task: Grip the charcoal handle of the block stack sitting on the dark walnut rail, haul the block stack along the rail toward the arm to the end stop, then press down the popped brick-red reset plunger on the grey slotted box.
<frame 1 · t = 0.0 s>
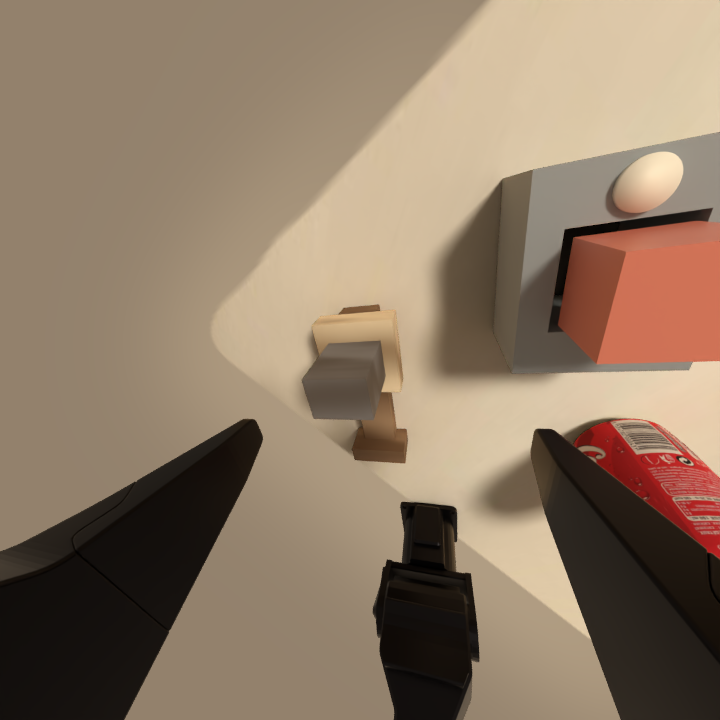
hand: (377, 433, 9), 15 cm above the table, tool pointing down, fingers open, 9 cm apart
soda can: (613, 441, 24), on the table
rail: (375, 387, 26), on the table
block stack: (352, 370, 20), point 5 cm above the table, slide at 5.0 cm
grey slotted box: (565, 256, 18), on the table
reset plunger: (646, 291, 11), point 8 cm above the table, slide at 2.0 cm
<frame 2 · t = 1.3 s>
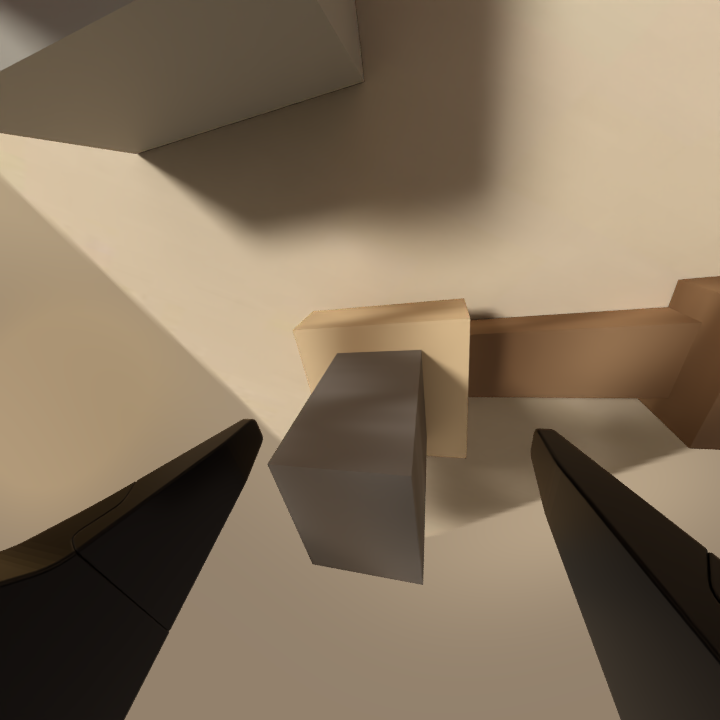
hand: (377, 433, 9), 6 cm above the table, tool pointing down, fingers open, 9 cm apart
rail: (507, 349, 12), on the table
block stack: (377, 424, 9), point 5 cm above the table, slide at 5.0 cm
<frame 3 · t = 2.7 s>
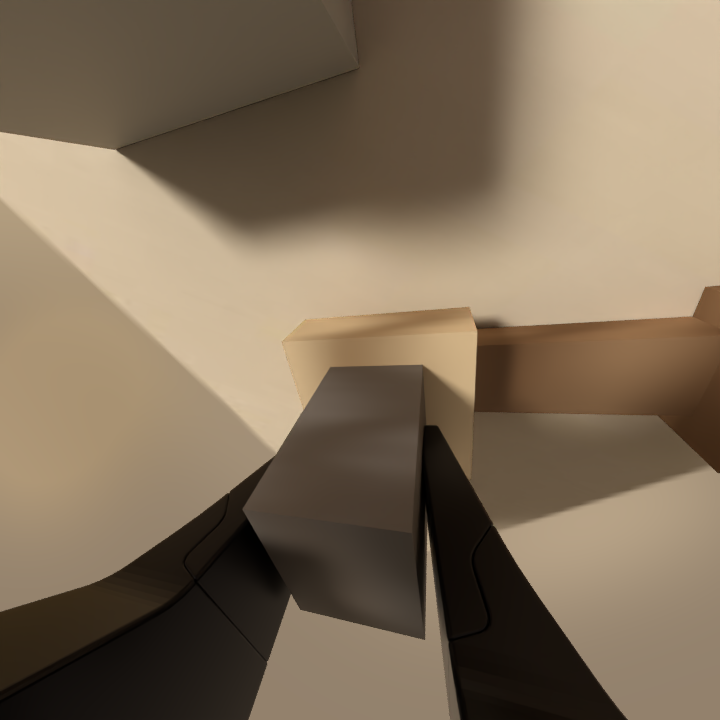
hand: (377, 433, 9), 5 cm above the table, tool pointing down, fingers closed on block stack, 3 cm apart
rail: (514, 360, 11), on the table
block stack: (374, 447, 8), point 5 cm above the table, slide at 5.0 cm, touching gripper
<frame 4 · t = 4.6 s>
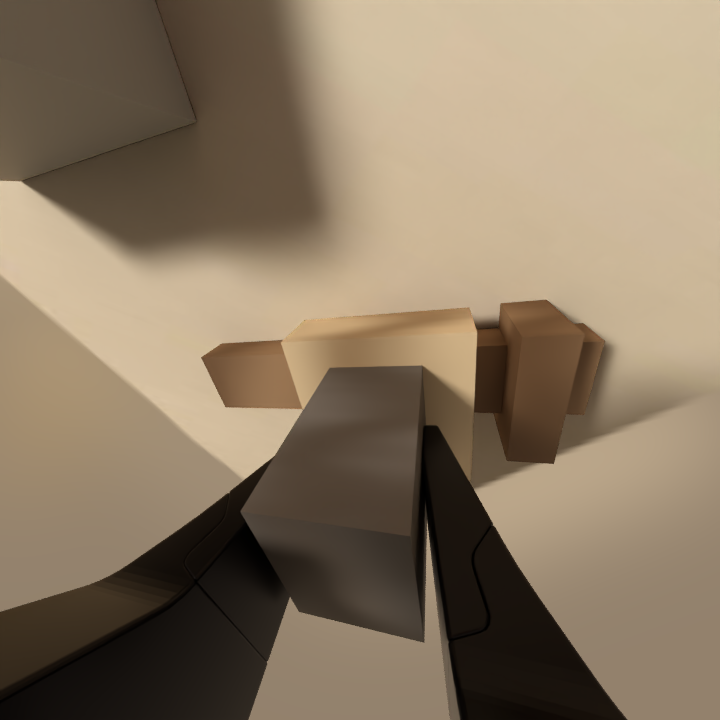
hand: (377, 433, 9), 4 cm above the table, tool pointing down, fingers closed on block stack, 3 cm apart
rail: (374, 364, 13), on the table
block stack: (373, 448, 8), point 5 cm above the table, slide at -0.9 cm, touching gripper
grey slotted box: (24, 9, 9), on the table
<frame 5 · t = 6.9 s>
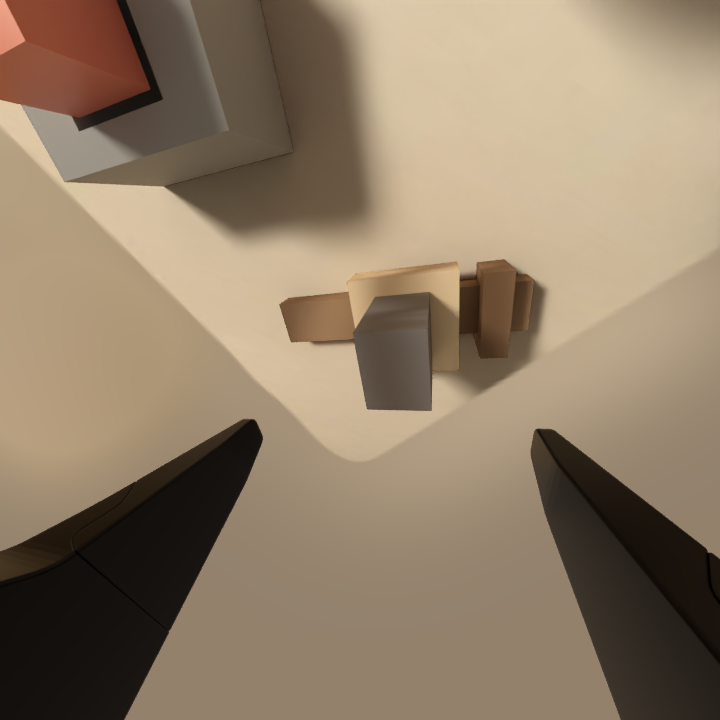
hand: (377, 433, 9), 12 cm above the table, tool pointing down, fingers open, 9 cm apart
rail: (395, 308, 19), on the table
block stack: (402, 339, 15), point 5 cm above the table, slide at -1.0 cm
grey slotted box: (195, 86, 16), on the table
reset plunger: (15, 1, 9), point 8 cm above the table, slide at 2.0 cm
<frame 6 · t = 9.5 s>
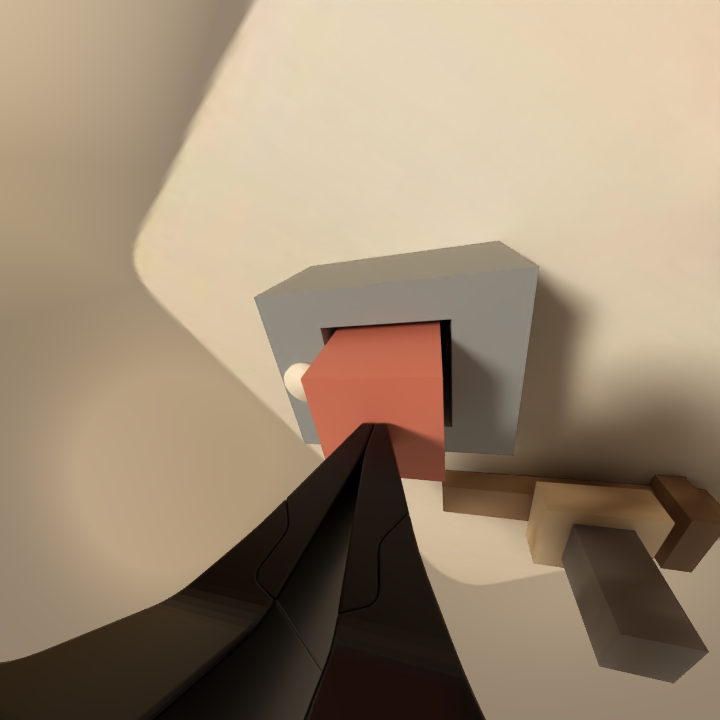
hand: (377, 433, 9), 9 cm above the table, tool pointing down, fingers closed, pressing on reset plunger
rail: (555, 492, 20), on the table
block stack: (608, 573, 16), point 5 cm above the table, slide at -1.0 cm
grey slotted box: (402, 324, 17), on the table
reset plunger: (385, 395, 11), point 7 cm above the table, slide at 1.1 cm, touching gripper
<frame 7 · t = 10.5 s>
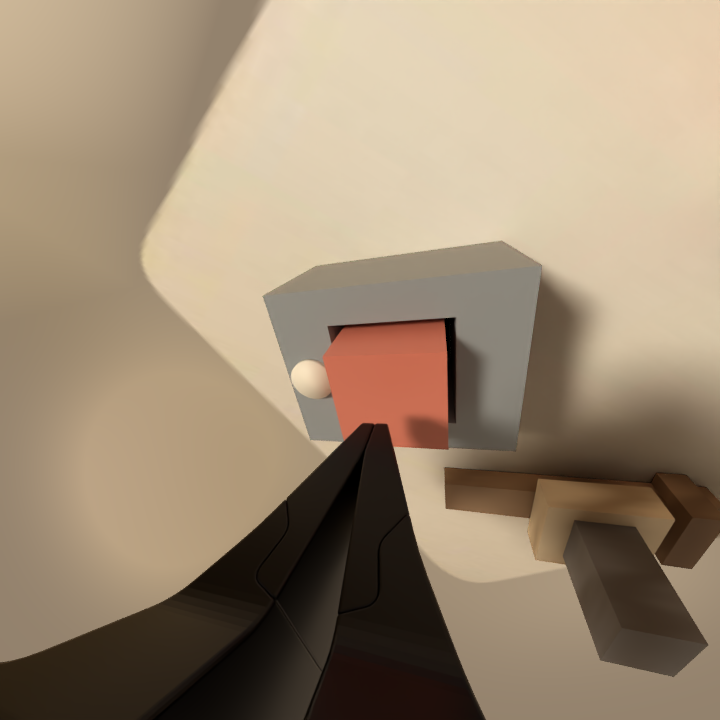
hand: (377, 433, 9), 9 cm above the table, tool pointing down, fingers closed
rail: (557, 489, 21), on the table
block stack: (609, 569, 16), point 5 cm above the table, slide at -1.0 cm
grey slotted box: (406, 323, 17), on the table
reset plunger: (394, 375, 12), point 6 cm above the table, slide at -0.1 cm
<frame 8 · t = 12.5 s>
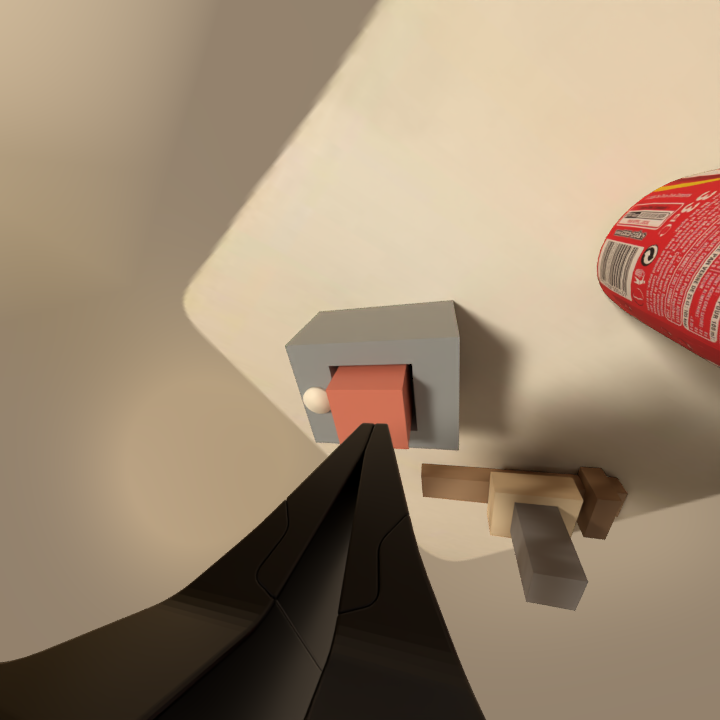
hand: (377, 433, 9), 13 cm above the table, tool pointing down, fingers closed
soda can: (661, 246, 15), on the table
rail: (509, 480, 26), on the table
block stack: (538, 538, 21), point 5 cm above the table, slide at -1.0 cm
grey slotted box: (387, 354, 22), on the table
reset plunger: (374, 398, 17), point 6 cm above the table, slide at -0.1 cm
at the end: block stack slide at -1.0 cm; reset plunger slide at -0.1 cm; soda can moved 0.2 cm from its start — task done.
